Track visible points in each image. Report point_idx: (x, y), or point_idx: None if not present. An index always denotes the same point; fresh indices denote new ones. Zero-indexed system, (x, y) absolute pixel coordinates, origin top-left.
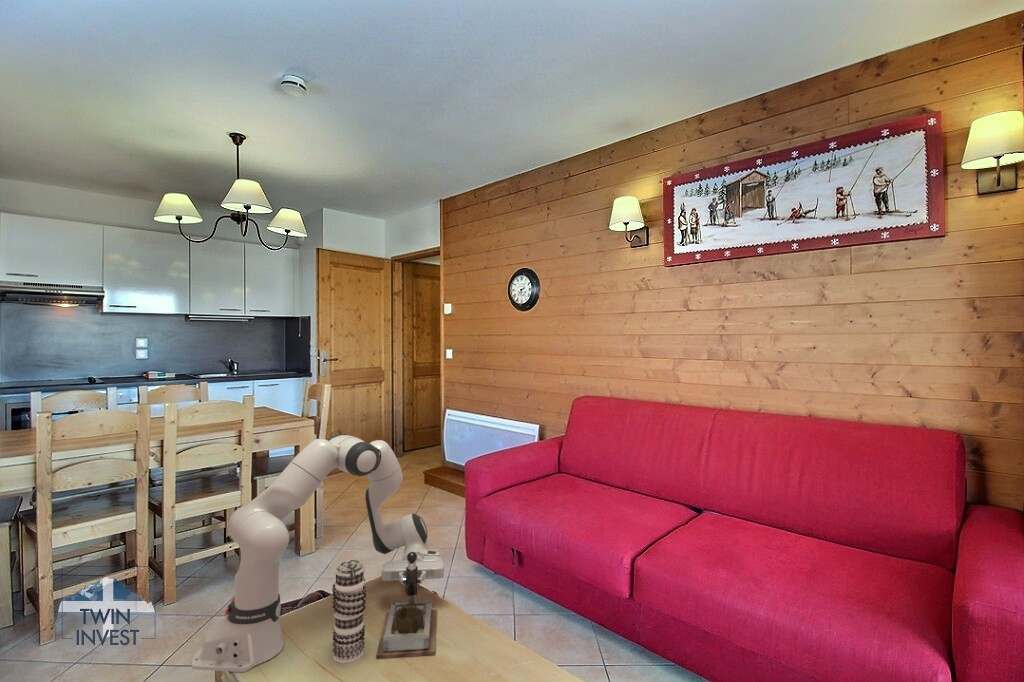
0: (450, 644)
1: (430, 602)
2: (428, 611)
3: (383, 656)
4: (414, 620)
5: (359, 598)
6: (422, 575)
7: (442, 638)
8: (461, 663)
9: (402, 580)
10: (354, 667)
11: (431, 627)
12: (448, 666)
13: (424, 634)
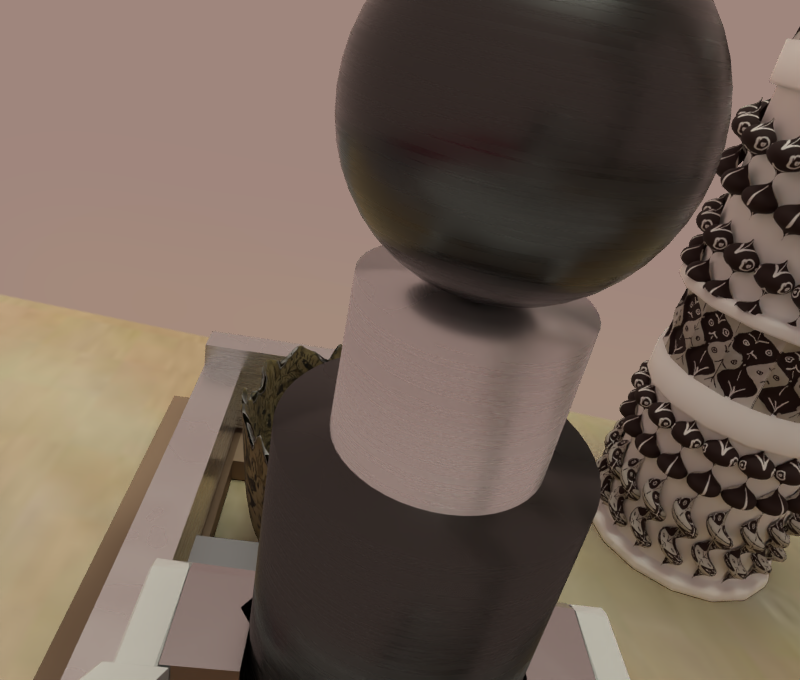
0: (35, 462)
1: None
2: (115, 623)
3: None
4: (307, 367)
5: (734, 147)
6: (102, 669)
7: (62, 524)
8: (53, 346)
9: (567, 605)
10: (583, 437)
11: None
12: (128, 348)
13: (240, 336)
